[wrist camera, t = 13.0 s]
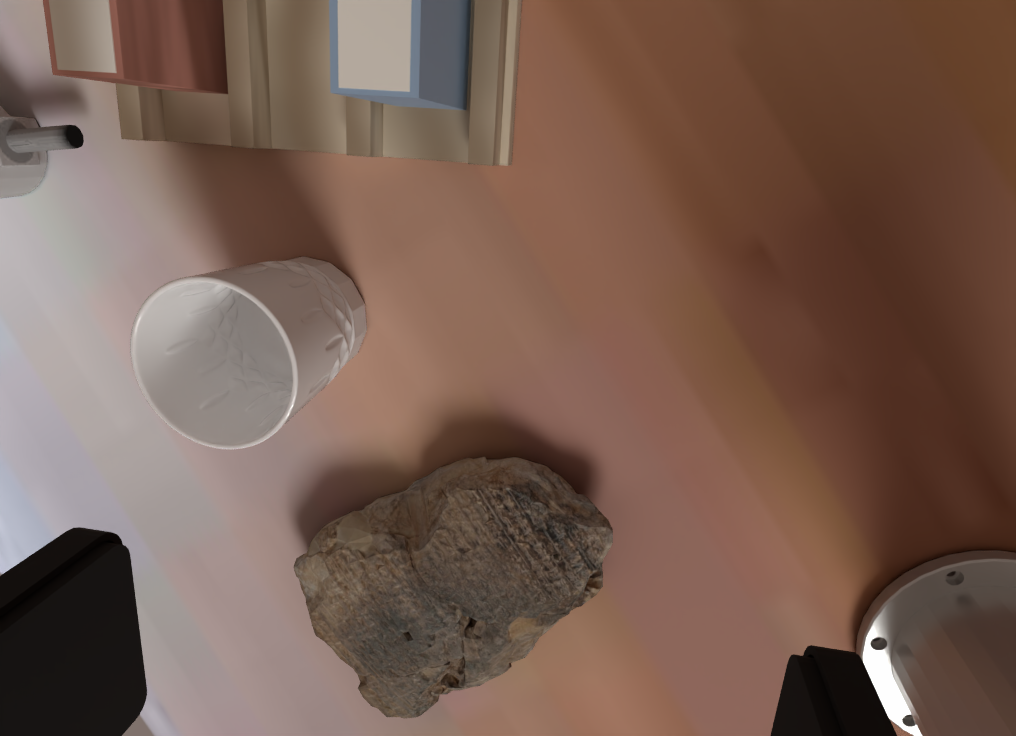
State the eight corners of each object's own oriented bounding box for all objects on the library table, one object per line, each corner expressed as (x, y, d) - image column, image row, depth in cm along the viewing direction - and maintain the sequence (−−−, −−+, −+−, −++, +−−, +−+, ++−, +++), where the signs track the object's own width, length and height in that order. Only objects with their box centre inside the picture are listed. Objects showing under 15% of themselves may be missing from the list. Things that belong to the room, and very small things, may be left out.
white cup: (274, 391, 41) (168, 461, 32) (229, 262, 39) (102, 297, 30) (394, 367, 39) (320, 434, 30) (354, 231, 37) (261, 258, 28)
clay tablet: (546, 395, 39) (281, 536, 44) (538, 429, 34) (243, 582, 40) (666, 585, 41) (402, 696, 47) (673, 641, 37) (380, 756, 42)
